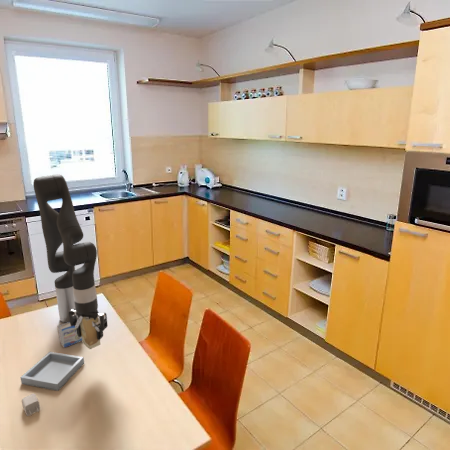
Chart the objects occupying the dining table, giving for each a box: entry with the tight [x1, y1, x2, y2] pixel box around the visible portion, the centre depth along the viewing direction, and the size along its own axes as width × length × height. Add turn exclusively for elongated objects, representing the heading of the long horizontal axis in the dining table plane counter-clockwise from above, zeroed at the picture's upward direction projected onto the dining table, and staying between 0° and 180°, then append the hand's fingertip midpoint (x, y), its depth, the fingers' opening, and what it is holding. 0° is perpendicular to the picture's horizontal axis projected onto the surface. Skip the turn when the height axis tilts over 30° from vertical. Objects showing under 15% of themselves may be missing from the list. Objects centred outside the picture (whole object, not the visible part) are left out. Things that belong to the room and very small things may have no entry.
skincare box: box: [80, 317, 101, 350], centre depth 129 cm, size 6×4×12 cm
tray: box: [20, 351, 85, 392], centre depth 130 cm, size 15×15×3 cm
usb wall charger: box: [21, 393, 41, 417], centre depth 113 cm, size 4×7×4 cm, turn 41°
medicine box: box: [57, 319, 82, 348], centre depth 148 cm, size 8×4×9 cm, turn 131°
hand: (90, 337), depth 129 cm, fingers closed on skincare box, 7 cm apart
